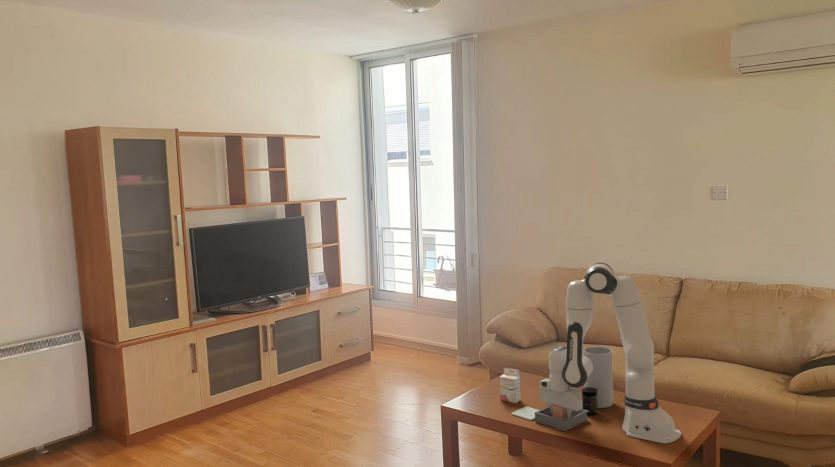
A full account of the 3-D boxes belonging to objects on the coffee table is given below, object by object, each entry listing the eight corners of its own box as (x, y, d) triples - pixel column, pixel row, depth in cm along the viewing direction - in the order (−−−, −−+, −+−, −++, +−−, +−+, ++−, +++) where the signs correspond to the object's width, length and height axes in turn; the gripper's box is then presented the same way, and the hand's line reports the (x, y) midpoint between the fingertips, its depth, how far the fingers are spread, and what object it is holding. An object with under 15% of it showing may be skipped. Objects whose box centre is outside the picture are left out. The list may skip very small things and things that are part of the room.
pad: (546, 413, 274) (546, 412, 274) (530, 420, 267) (530, 419, 267) (526, 407, 282) (526, 406, 282) (511, 414, 275) (511, 413, 275)
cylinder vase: (618, 404, 281) (618, 350, 279) (601, 410, 274) (599, 355, 272) (596, 396, 292) (595, 345, 289) (579, 403, 285) (577, 350, 282)
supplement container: (600, 412, 273) (600, 389, 272) (593, 416, 268) (593, 393, 267) (586, 408, 278) (585, 386, 277) (579, 413, 273) (578, 390, 272)
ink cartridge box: (500, 400, 293) (498, 370, 291) (504, 397, 297) (503, 367, 295) (516, 403, 288) (515, 372, 287) (521, 399, 292) (520, 369, 291)
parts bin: (586, 420, 265) (586, 411, 264) (565, 431, 254) (565, 421, 254) (556, 411, 276) (556, 402, 276) (535, 421, 266) (534, 412, 266)
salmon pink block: (569, 420, 265) (568, 405, 264) (562, 424, 262) (561, 408, 261) (559, 417, 269) (559, 402, 268) (552, 421, 265) (552, 405, 265)
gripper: (585, 387, 258) (586, 419, 259) (545, 377, 273) (546, 407, 275) (576, 391, 254) (577, 424, 255) (536, 381, 269) (537, 411, 270)
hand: (560, 415), depth 265 cm, fingers open, 6 cm apart
